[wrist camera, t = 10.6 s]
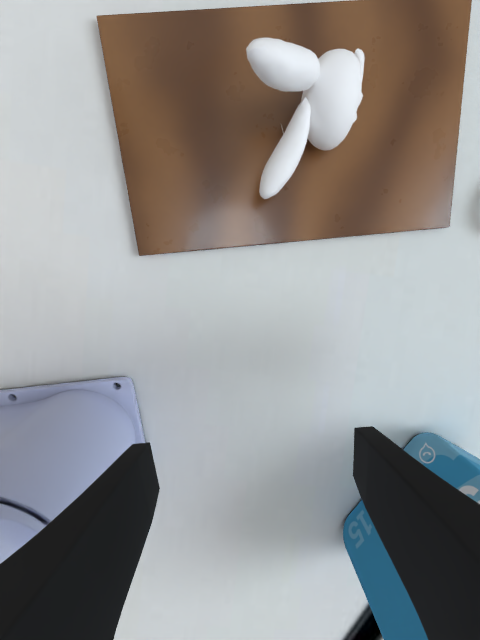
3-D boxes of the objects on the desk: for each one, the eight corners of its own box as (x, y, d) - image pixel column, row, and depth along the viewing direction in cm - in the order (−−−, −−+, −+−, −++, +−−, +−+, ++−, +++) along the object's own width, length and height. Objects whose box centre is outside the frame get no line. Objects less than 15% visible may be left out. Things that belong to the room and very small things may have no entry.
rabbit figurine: (372, 158, 16) (280, 211, 13) (318, 150, 18) (229, 193, 15) (402, 8, 12) (275, 36, 9) (327, 22, 14) (206, 47, 11)
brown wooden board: (140, 255, 17) (138, 255, 17) (99, 21, 14) (95, 15, 14) (444, 227, 18) (449, 227, 17) (466, -1, 15) (473, -8, 14)
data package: (423, 422, 21) (659, 623, 10) (463, 445, 22) (726, 657, 11) (336, 527, 24) (445, 795, 12) (375, 545, 24) (514, 812, 13)
